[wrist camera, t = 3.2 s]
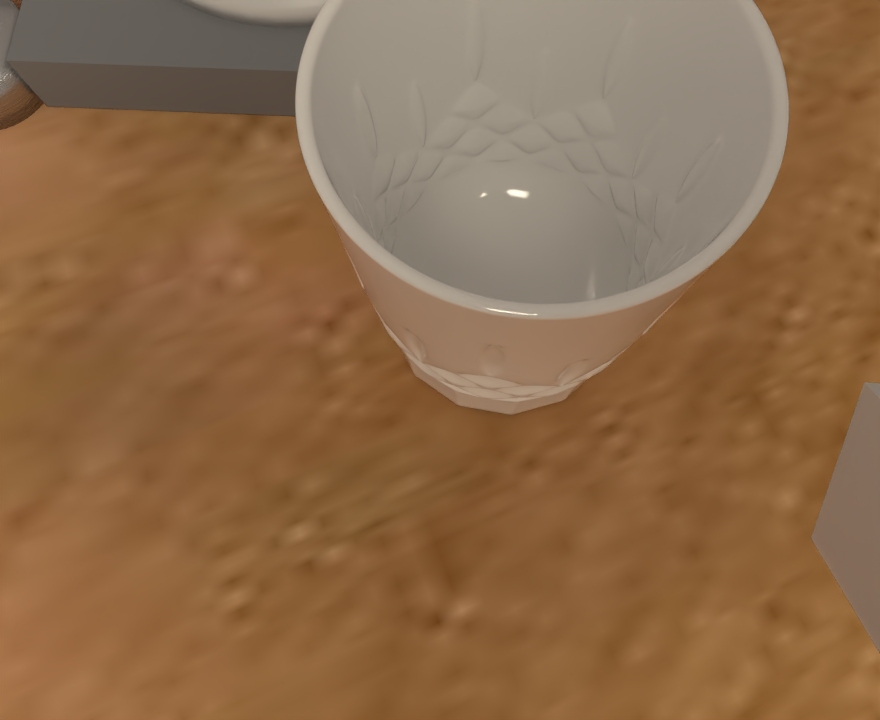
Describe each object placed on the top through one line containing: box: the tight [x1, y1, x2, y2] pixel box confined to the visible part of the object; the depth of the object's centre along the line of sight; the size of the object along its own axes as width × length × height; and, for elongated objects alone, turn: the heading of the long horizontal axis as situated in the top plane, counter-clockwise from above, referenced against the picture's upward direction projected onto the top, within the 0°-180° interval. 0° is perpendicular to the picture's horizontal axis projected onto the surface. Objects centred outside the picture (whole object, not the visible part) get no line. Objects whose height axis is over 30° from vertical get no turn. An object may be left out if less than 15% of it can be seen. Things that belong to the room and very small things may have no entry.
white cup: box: [295, 0, 789, 415], centre depth 16 cm, size 8×8×10 cm
